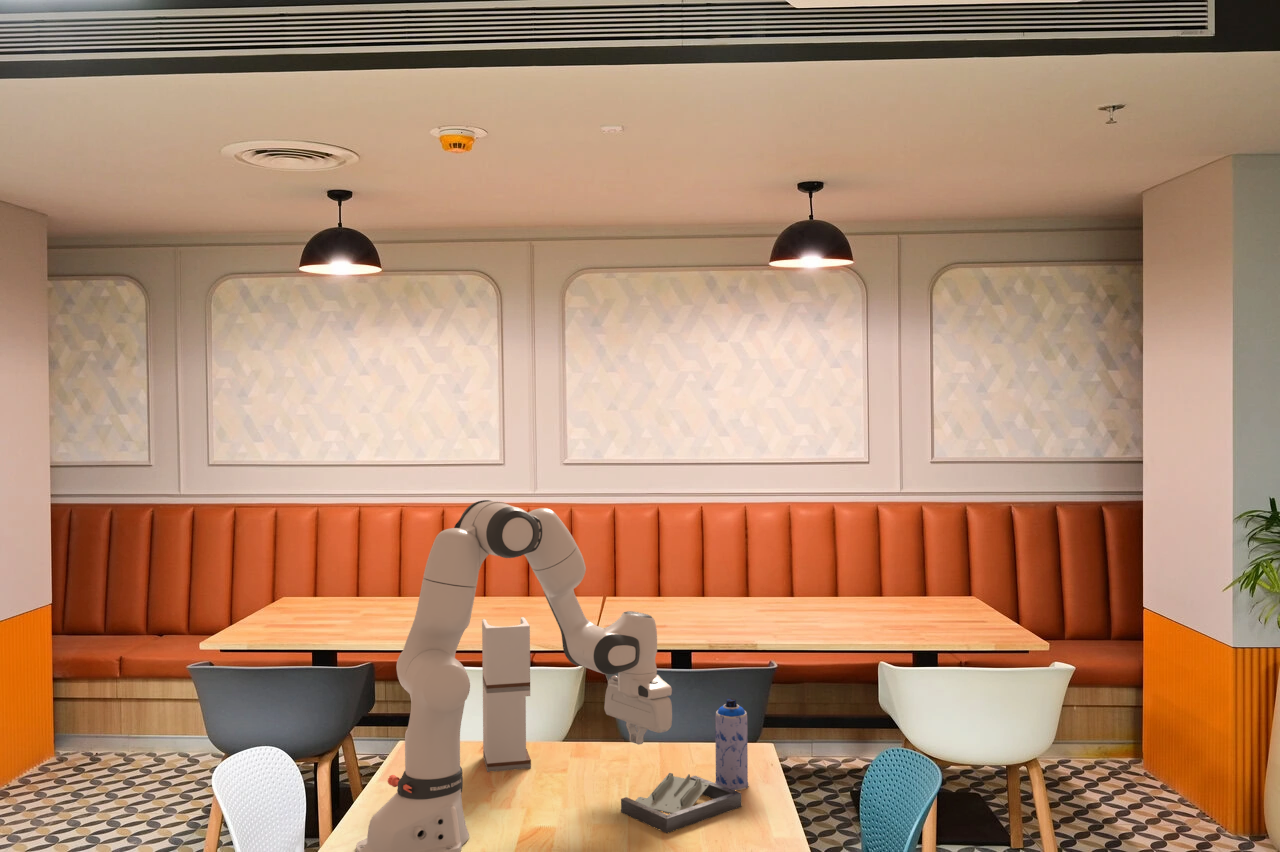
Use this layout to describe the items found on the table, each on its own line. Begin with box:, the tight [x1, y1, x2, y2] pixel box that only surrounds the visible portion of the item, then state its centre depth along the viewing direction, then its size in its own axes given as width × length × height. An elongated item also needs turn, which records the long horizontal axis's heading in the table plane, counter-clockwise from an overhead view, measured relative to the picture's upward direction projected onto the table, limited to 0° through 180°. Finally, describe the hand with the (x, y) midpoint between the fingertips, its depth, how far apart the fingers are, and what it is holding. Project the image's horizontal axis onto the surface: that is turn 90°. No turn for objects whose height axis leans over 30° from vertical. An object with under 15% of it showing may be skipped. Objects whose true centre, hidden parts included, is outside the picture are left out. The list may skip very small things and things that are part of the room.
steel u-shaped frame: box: [620, 775, 743, 834], centre depth 229 cm, size 22×15×3 cm
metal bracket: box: [635, 772, 709, 814], centre depth 233 cm, size 14×6×15 cm
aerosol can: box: [714, 698, 750, 791], centre depth 244 cm, size 8×8×20 cm
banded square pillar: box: [481, 616, 532, 773], centre depth 261 cm, size 11×11×35 cm
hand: (636, 742), depth 240 cm, fingers closed
